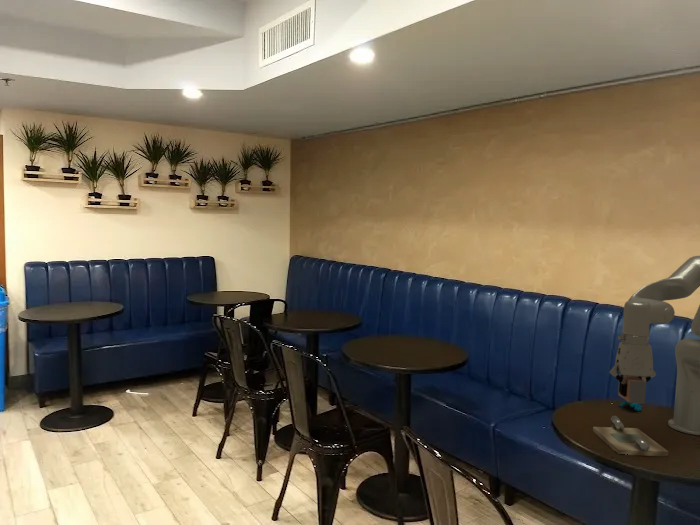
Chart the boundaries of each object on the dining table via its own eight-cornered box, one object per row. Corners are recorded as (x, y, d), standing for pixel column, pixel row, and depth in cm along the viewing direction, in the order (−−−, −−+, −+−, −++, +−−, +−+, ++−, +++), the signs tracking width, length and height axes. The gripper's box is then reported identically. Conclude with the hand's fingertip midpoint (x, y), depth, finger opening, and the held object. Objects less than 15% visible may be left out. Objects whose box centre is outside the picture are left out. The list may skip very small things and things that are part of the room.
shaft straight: (640, 443, 164) (641, 436, 164) (649, 450, 159) (649, 443, 159) (632, 443, 164) (633, 436, 164) (641, 450, 159) (641, 442, 159)
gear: (638, 410, 194) (620, 387, 199) (625, 418, 197) (607, 395, 202) (647, 408, 202) (629, 385, 207) (634, 415, 204) (617, 393, 210)
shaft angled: (616, 425, 179) (617, 415, 179) (624, 431, 174) (625, 421, 173) (609, 425, 179) (610, 414, 179) (617, 431, 174) (618, 420, 173)
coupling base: (637, 432, 178) (637, 423, 177) (667, 456, 160) (668, 445, 159) (592, 431, 178) (593, 421, 178) (618, 454, 160) (619, 444, 160)
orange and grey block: (644, 403, 164) (646, 381, 163) (630, 403, 164) (631, 381, 163) (631, 395, 172) (633, 374, 171) (617, 394, 172) (619, 373, 171)
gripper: (614, 341, 163) (610, 398, 164) (668, 343, 162) (664, 400, 164) (603, 336, 170) (599, 390, 172) (655, 338, 170) (651, 392, 171)
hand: (631, 394), depth 168 cm, fingers closed on orange and grey block, 4 cm apart
